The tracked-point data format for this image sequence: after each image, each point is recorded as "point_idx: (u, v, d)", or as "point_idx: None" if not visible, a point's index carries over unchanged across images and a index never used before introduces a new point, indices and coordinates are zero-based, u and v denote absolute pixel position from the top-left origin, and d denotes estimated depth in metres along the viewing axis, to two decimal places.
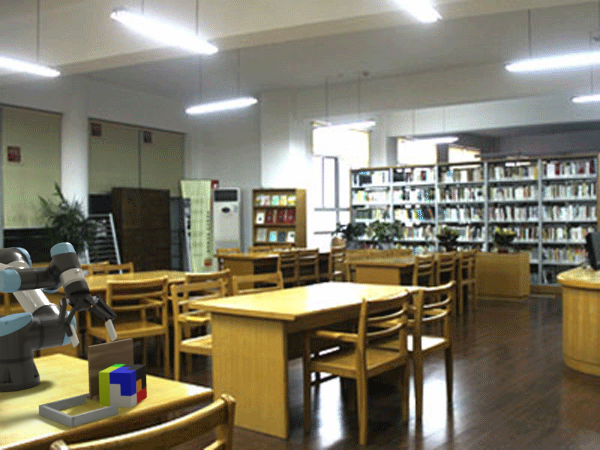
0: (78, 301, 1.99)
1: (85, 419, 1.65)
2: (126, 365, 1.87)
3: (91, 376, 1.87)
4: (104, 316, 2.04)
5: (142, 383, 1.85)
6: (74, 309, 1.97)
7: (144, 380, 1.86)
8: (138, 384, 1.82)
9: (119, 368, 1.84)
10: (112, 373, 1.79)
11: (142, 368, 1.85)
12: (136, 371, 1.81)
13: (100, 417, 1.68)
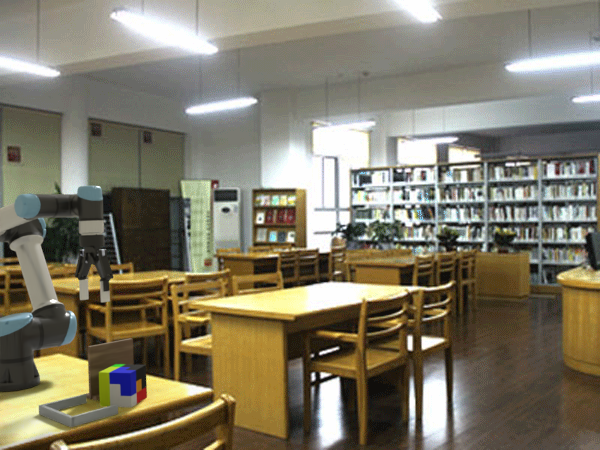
0: None
1: (85, 419, 1.65)
2: (126, 365, 1.87)
3: (91, 376, 1.87)
4: (85, 274, 2.02)
5: (142, 383, 1.85)
6: None
7: (144, 380, 1.86)
8: (138, 384, 1.82)
9: (119, 368, 1.84)
10: (112, 373, 1.79)
11: (142, 368, 1.85)
12: (136, 371, 1.81)
13: (100, 417, 1.68)
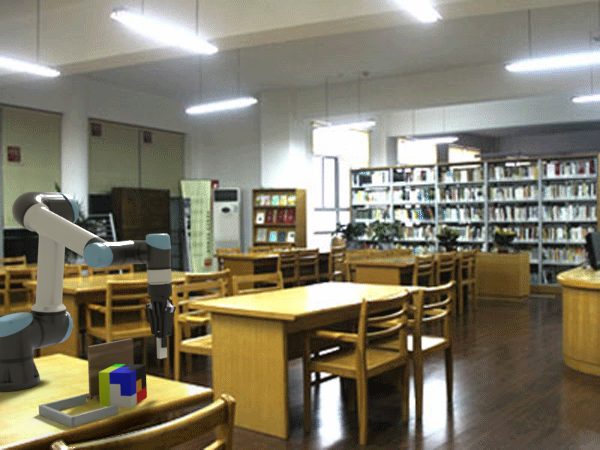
0: None
1: (85, 419, 1.65)
2: (126, 365, 1.87)
3: (91, 376, 1.87)
4: None
5: (142, 383, 1.85)
6: None
7: (144, 380, 1.86)
8: (138, 384, 1.82)
9: (119, 368, 1.84)
10: (112, 373, 1.79)
11: (142, 368, 1.85)
12: (136, 371, 1.81)
13: (100, 417, 1.68)
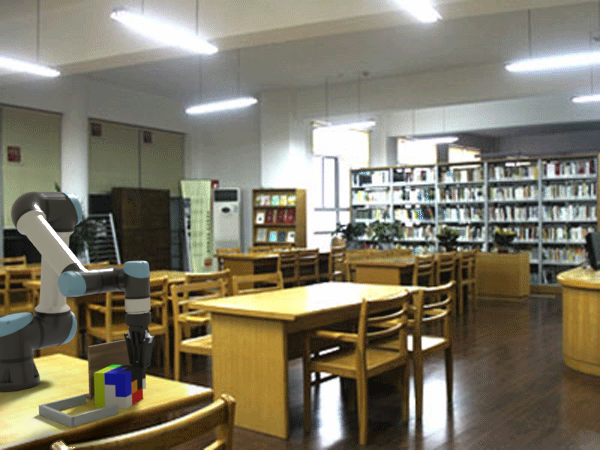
0: None
1: (85, 419, 1.65)
2: (122, 366, 1.86)
3: (91, 376, 1.87)
4: None
5: (138, 384, 1.83)
6: None
7: (140, 381, 1.85)
8: (133, 385, 1.81)
9: (115, 369, 1.82)
10: (107, 374, 1.78)
11: (138, 369, 1.84)
12: (131, 372, 1.80)
13: (100, 417, 1.68)
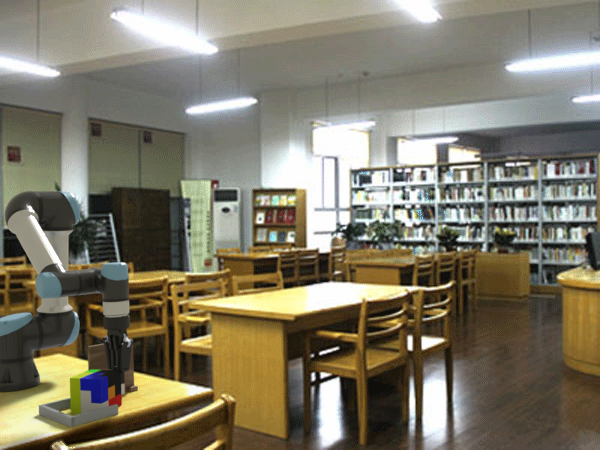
0: None
1: (85, 419, 1.65)
2: (100, 371, 1.81)
3: None
4: None
5: (116, 389, 1.78)
6: None
7: (118, 387, 1.79)
8: (110, 391, 1.75)
9: (92, 374, 1.77)
10: (83, 379, 1.72)
11: (116, 374, 1.78)
12: (108, 377, 1.74)
13: (100, 417, 1.68)
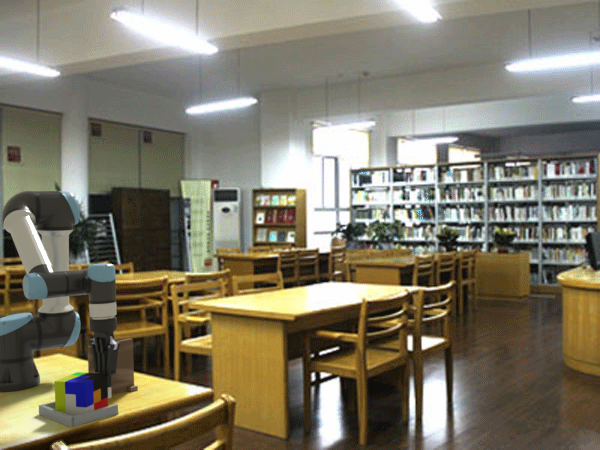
0: None
1: (85, 419, 1.65)
2: (87, 374, 1.77)
3: None
4: None
5: (102, 393, 1.75)
6: None
7: (105, 390, 1.76)
8: (96, 394, 1.72)
9: (77, 377, 1.74)
10: (67, 382, 1.69)
11: (102, 377, 1.75)
12: (93, 381, 1.71)
13: (100, 417, 1.68)
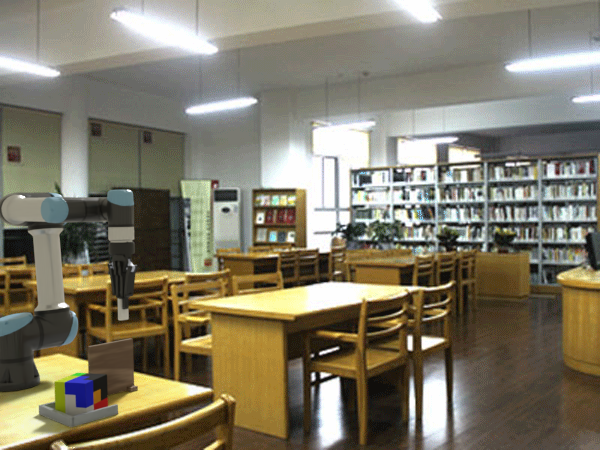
0: None
1: (85, 419, 1.65)
2: (87, 374, 1.77)
3: None
4: None
5: (101, 393, 1.75)
6: None
7: (104, 390, 1.76)
8: (96, 395, 1.72)
9: (77, 377, 1.74)
10: (67, 383, 1.69)
11: (102, 378, 1.75)
12: (93, 381, 1.71)
13: (100, 417, 1.68)
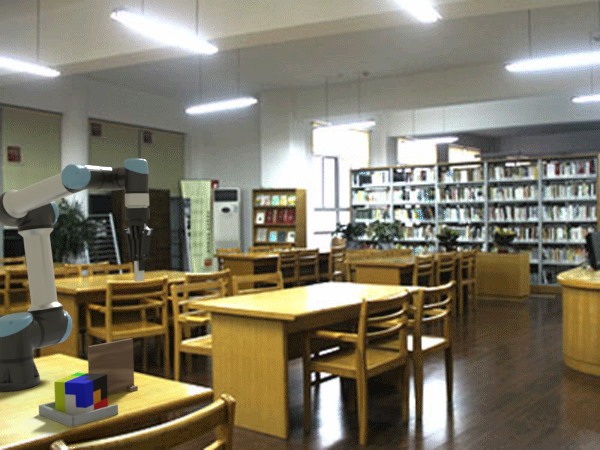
0: None
1: (85, 419, 1.65)
2: (86, 374, 1.77)
3: None
4: None
5: (101, 393, 1.75)
6: None
7: (104, 390, 1.76)
8: (96, 395, 1.72)
9: (77, 377, 1.74)
10: (67, 383, 1.69)
11: (102, 378, 1.75)
12: (93, 381, 1.71)
13: (100, 417, 1.68)
